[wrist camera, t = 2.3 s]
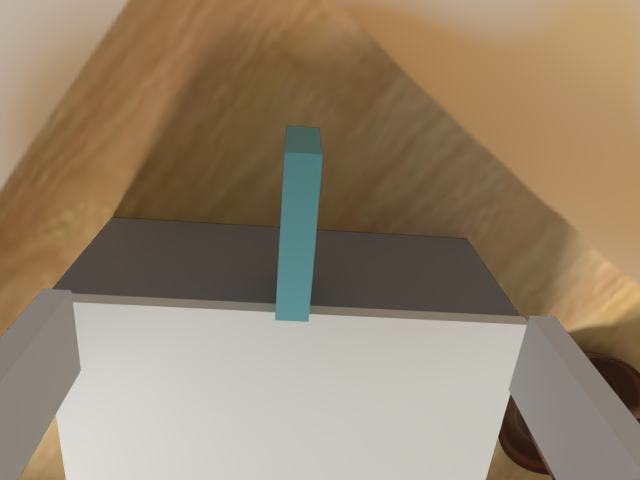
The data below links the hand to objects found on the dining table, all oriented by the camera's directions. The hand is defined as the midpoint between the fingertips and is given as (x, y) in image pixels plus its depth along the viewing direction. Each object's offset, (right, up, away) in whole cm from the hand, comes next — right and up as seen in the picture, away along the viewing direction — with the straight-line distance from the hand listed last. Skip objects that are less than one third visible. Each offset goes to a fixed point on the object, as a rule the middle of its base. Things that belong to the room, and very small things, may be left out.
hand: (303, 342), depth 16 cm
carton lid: (-1, -3, +16) cm, 16 cm away
